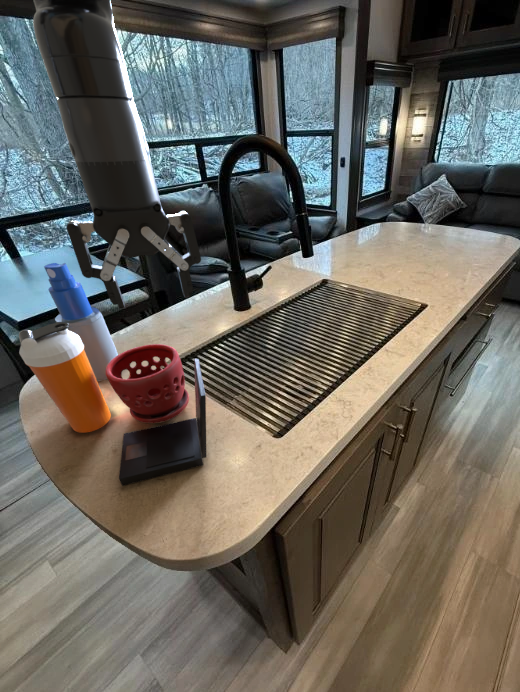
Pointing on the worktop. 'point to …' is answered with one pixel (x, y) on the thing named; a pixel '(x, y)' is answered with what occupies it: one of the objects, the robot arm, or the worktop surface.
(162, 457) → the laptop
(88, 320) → the spray bottle
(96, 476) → the worktop surface
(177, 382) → the flower pot
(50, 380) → the shaker bottle
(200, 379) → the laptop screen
